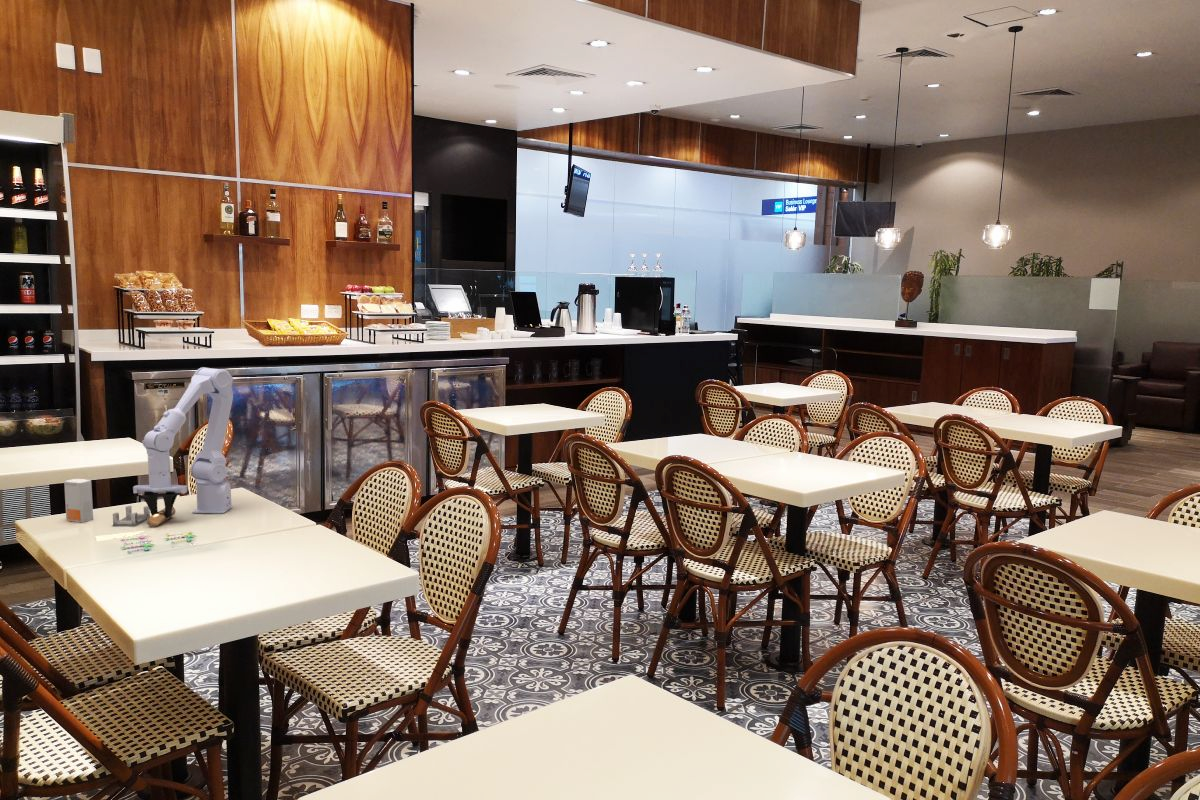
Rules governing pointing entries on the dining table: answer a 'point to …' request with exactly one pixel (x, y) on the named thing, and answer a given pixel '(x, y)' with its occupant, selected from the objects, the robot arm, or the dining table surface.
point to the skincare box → (78, 500)
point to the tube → (159, 517)
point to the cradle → (131, 517)
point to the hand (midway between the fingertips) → (161, 516)
